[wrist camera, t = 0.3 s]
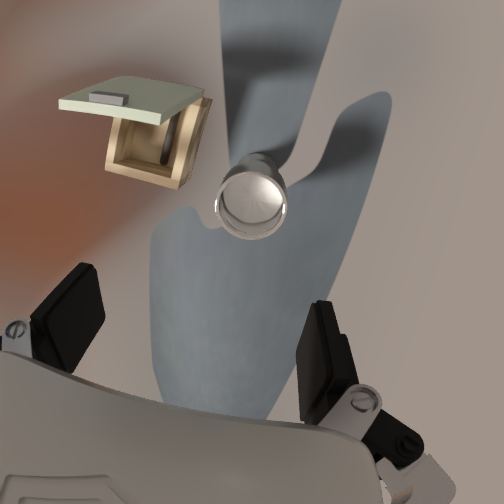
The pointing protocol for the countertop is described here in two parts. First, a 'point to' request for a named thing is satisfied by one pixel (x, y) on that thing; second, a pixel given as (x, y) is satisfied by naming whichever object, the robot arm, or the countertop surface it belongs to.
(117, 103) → the box lid
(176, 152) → the light wooden box
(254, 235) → the beer glass
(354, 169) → the countertop surface
